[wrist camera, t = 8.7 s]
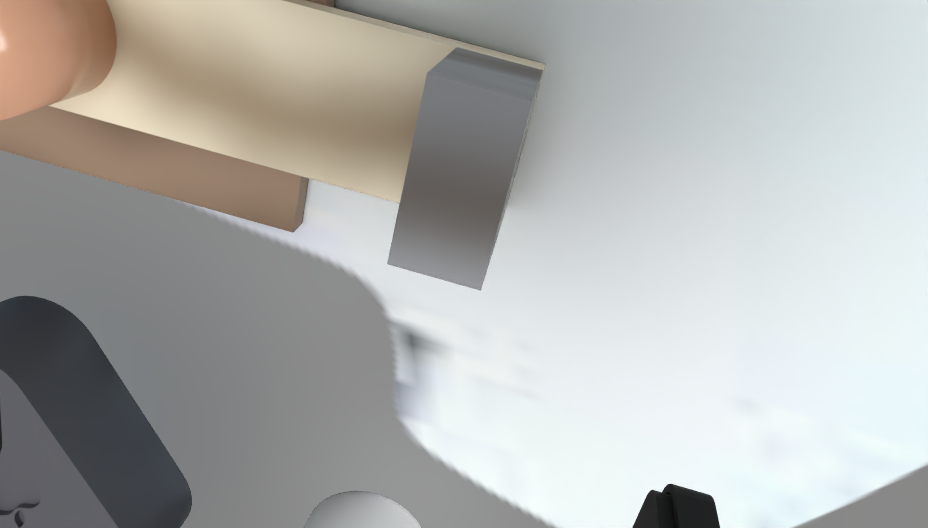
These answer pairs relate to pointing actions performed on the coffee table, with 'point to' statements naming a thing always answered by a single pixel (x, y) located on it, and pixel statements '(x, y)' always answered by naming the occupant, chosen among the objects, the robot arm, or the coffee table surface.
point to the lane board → (159, 164)
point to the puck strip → (334, 110)
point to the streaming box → (75, 432)
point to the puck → (52, 51)
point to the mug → (360, 512)
